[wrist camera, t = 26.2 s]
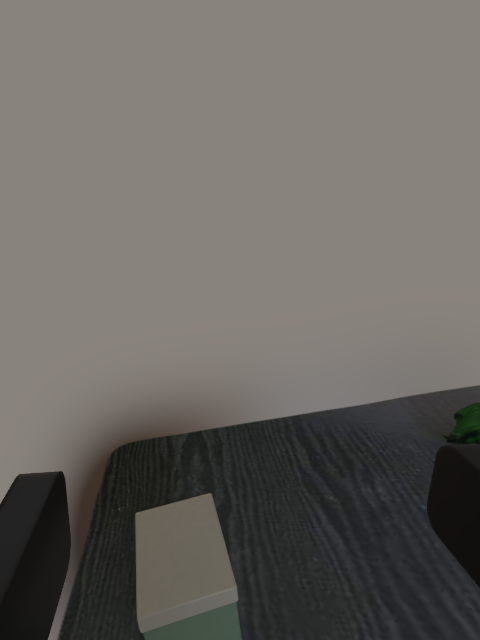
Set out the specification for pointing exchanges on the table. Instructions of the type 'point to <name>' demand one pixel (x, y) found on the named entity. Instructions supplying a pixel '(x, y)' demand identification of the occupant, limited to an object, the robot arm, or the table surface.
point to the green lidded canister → (184, 574)
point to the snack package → (466, 426)
